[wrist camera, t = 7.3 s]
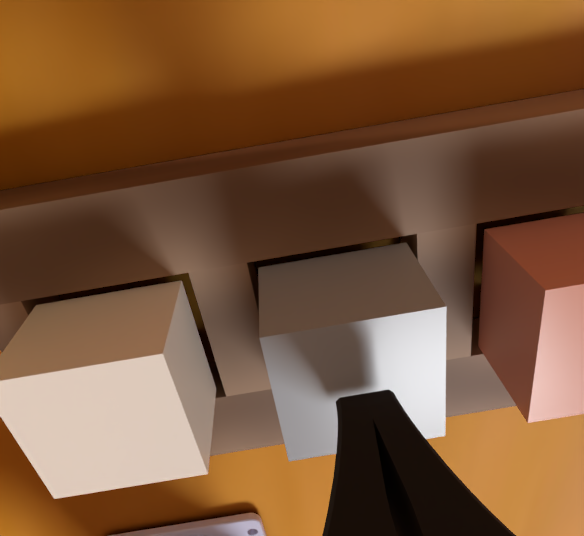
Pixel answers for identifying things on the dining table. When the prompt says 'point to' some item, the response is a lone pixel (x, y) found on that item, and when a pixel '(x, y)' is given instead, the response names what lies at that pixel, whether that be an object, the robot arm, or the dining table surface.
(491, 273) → the brick key
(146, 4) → the dining table surface
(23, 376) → the ivory key
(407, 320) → the slate key
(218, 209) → the brown flat board
